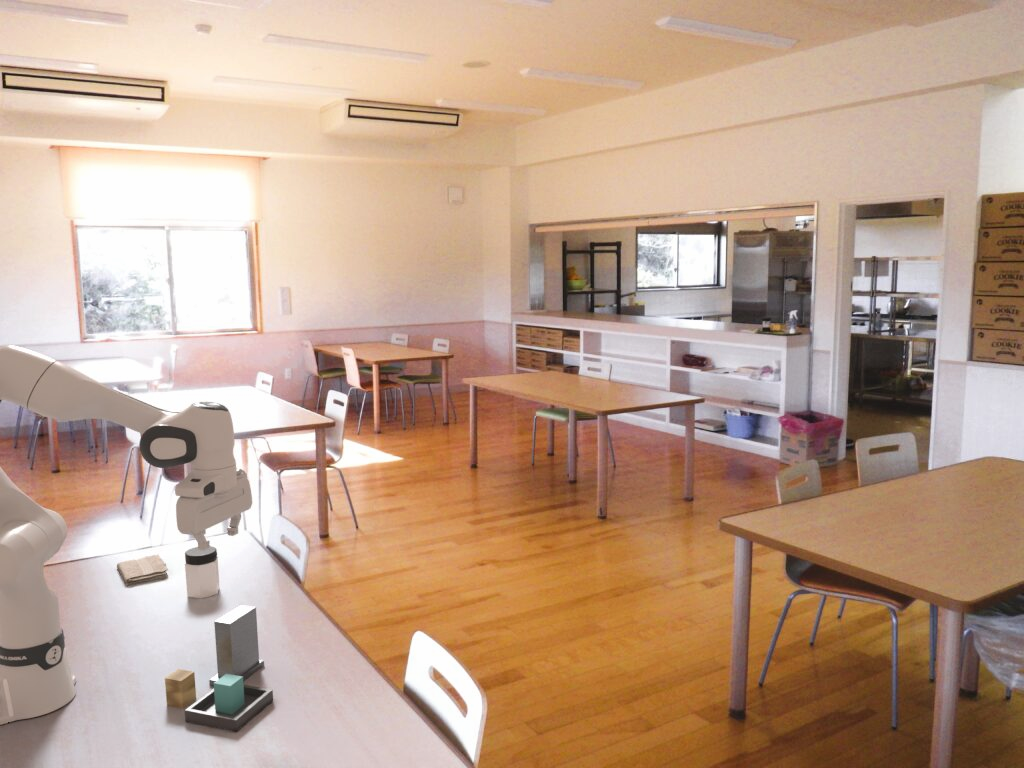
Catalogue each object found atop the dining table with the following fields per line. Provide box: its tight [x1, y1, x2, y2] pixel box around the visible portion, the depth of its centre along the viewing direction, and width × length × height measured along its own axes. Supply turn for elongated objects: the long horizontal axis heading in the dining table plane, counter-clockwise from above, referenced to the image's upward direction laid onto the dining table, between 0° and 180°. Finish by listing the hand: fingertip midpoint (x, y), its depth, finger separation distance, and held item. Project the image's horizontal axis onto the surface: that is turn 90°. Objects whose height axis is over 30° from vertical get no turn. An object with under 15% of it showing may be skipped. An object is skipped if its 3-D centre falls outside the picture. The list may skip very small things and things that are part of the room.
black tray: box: [184, 683, 274, 733], centre depth 167 cm, size 12×12×2 cm
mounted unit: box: [208, 604, 265, 687], centre depth 181 cm, size 6×11×14 cm, turn 161°
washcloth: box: [116, 554, 169, 587], centre depth 243 cm, size 12×18×3 cm, turn 35°
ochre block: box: [164, 668, 197, 709], centre depth 170 cm, size 4×4×6 cm
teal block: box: [213, 674, 245, 714], centre depth 166 cm, size 4×4×6 cm
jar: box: [184, 545, 220, 599], centre depth 227 cm, size 9×8×12 cm
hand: (218, 541), depth 176 cm, fingers open, 8 cm apart
